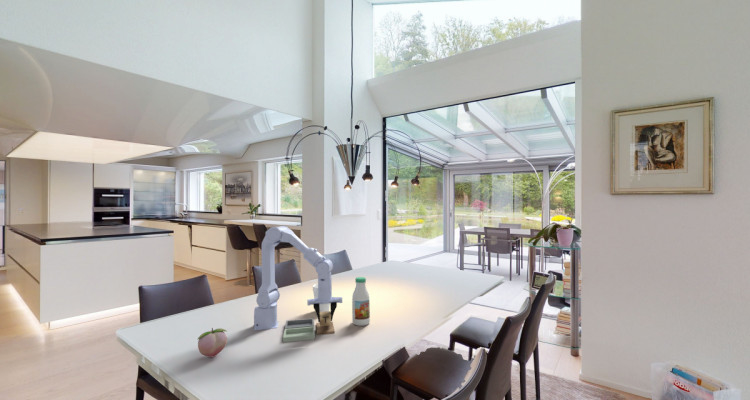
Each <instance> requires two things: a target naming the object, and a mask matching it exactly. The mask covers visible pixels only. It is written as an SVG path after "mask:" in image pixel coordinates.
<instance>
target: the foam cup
mask: <svg viewBox="0 0 750 400" xmlns="http://www.w3.org/2000/svg"><path fill="white" fill-rule="evenodd" d="M312 291H313V299H316V298H318V283H315V284H313V285H312ZM319 307H320V312H324V311H330V303H328V304H319Z"/></svg>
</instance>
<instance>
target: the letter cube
mask: <svg viewBox="0 0 750 400" xmlns="http://www.w3.org/2000/svg"><path fill="white" fill-rule="evenodd" d="M330 312H331V310H329V311H324V312H320V322H319V323H320V326H329V325H331V322H332V321H331V313H330Z"/></svg>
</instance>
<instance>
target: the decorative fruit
mask: <svg viewBox="0 0 750 400" xmlns="http://www.w3.org/2000/svg"><path fill="white" fill-rule="evenodd" d="M225 332H227V330H226V328H225V329H224V328H216V329H213V327H212V328H211V330H208V331H205V332H203V333H201V334H200V335H199V336H198V337H197V340H198V341H197V349H198V351H199V353H200V354H201V355H203V356H205V357H208V358H213V357H215V356H217V355H218V354H220V353H221V352H222V351H223V350H224V349H225V348H226V345H227V343H228V337H227V334H226V333H225Z"/></svg>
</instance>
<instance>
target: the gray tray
mask: <svg viewBox="0 0 750 400" xmlns="http://www.w3.org/2000/svg"><path fill="white" fill-rule="evenodd" d="M303 327H314V328H315V318H312V317H311V318H304V319H303V318H301V319H289V320H286V321H285V325H284V330H285V329H292V328H303Z"/></svg>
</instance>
